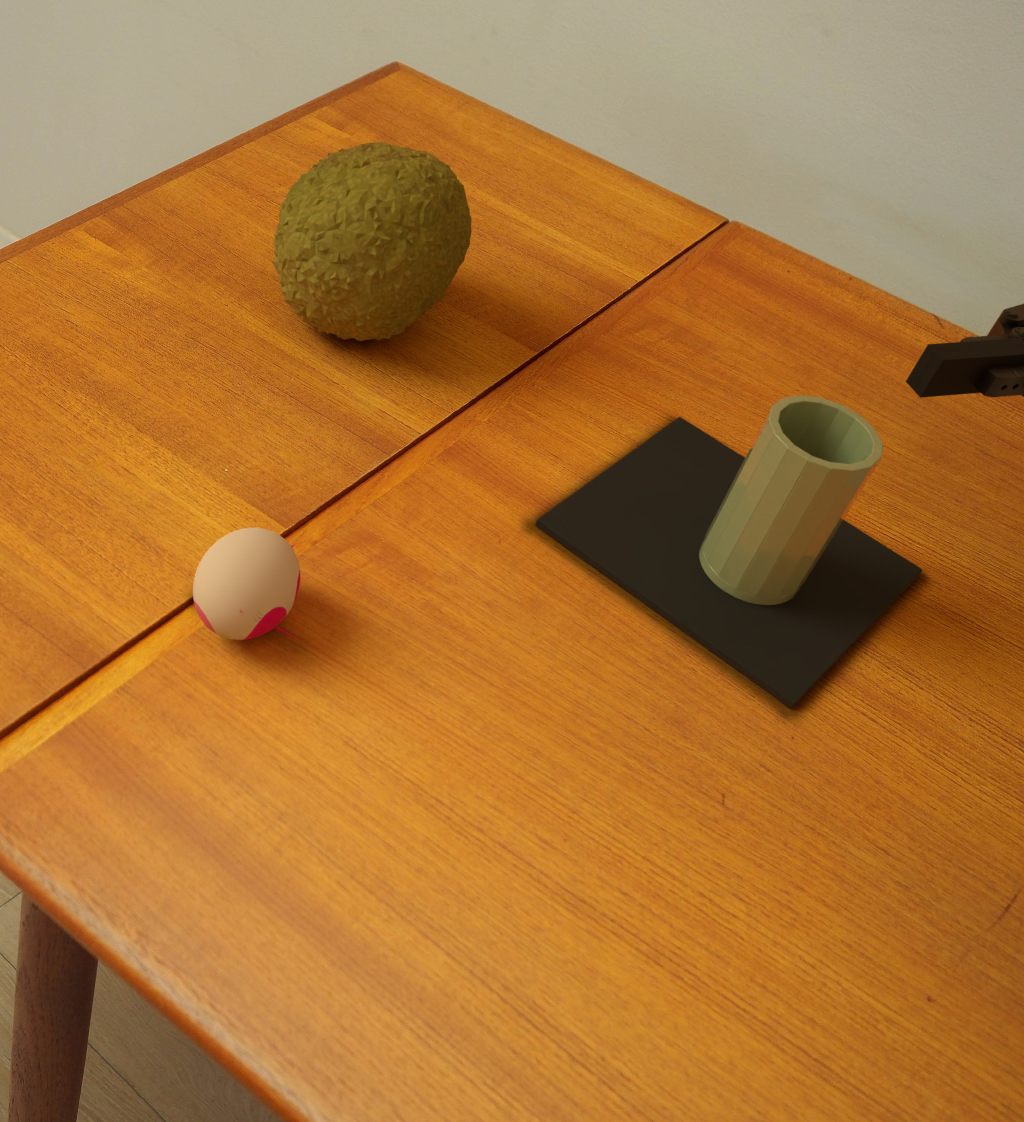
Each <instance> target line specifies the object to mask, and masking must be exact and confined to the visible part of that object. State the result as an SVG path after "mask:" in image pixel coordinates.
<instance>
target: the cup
mask: <svg viewBox="0 0 1024 1122" xmlns="http://www.w3.org/2000/svg"><path fill="white" fill-rule="evenodd" d="M883 450H884V443H883V441H882V439H881V437H880V435H879V433H878V431H877V429H876V428H875V427H874V426H873V425H872V424H871V423H870V422H869V421H868V420H867V419H866V418H865V417H864V416H862V415H861V414H859V413H858V412H856V411H855V410H852V409H851V408H849V407H847V406H846V405H844V404H842V403H838V402H836V401H833V400H830V399H827V398H824V397H820V396H815V395H814V396H813V395H803V394H798V395H793V396H787V397H782V398H781V399H779V400H778V401H777V402H775V403H774V404H772V406H771V407H770V409H769V411H768V413H767V415H766V417H765V419H764V420H763V423H762V425H761V426H760V428H759V430H758V432H757V434H756V436H755V438H754V440H753V442H752V444H751V445H750V448H749V450H748V452H747V453H746V455H745V456H744V457H745V459H744V461H743V463H742V465H741V467H740V469H739V471H738V473H737V475H736V477H735V479H734V481H733V483H732V485H731V486H730V488H729V490H728V492H727V494H726V496H725V498H724V500H723V502H722V504H721V506H720V508H719V510H718V512H717V514H716V516H715V518H714V519H713V521H712V523H711V525H710V527H709V529H708V531H707V533H706V535H705V539H704V541H703V542H702V544H701V547H700V551H699V558H700V563H701V565H702V568H703V570H704V572H705V573H706V575H707V576H708V577H709V578H710V580H711V581H712V582H713V583H714V584H716V585H717V586H718V587H719V588H720V589H722V590H723V591H725V592H726V593H728V594H729V595H731V596H733V597H735V598H738V599H740V600H742V601H746V602H749V603H753V604H758V605H776V604H781V603H784V602H786V601H788V600H790V599H791V598H793V597H794V596H795V595H796V594H797V592H798V591H799V589H800V587H801V586H802V585H803V584H804V582H805V581H806V579H807V578H808V576H809V574H810V573H811V571H812V570H813V568H814V566H815V565H816V563H817V561H818V560H819V558H820V557H821V555H822V553H823V552H824V550H825V549H826V547H827V545H828V544H829V542H830V540H831V539H832V537H833V536H834V534H835V532H836V531H837V529H838V528H839V526H840V524H841V523H842V521H843V520H845V518H846V516H847V515H848V513H849V511H850V510H851V508H852V506H853V505H854V503H855V502H856V500H857V498H858V497H859V495H860V494H861V492H862V490H863V489H864V487H865V485H866V484H867V482H869V479H870V477H871V476H872V475H873V473H874V471H875V469H876V468H877V466H878V464H879V463H880V461H881V460H882V458H883Z"/></svg>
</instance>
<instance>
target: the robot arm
mask: <svg viewBox="0 0 1024 1122" xmlns="http://www.w3.org/2000/svg"><path fill="white" fill-rule="evenodd" d="M905 383H906V384H907V385H908V386H909V387H910V388H911V389H912V390H913V392H914V393H915V394H916V395H917V396H918V397H919V398H921V399H922V398H933V397H946V396H956V395H957V396H958V395H959V396H960V395H969V394H981V395H982V396H984V397H987V398H1001V397H1014V396H1015V397H1017V396H1021V397H1023V398H1024V303H1021V304H1017V305H1014V306H1010V307H1007V308H1005V309H1003V310H1002V311H1001V313H1000V314H999V316H998V317H997V319H996V321H995V322H994V323H993V325H992V326H991V329H990V330H989V332H988V333H987V334H986V335H977V336H966V337H963V338H962V339H960V341H955V342H954V341H953V342H940V343H928V344H927V345H926V346H925V349H923V352H922V353H921V355H920V357H919V359H918V360H917V362H916V364H915V365H914V366H913V368H912V370H911V372H910V374H909V375H908V377H907V379H906V380H905Z"/></svg>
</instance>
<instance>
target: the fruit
mask: <svg viewBox="0 0 1024 1122" xmlns="http://www.w3.org/2000/svg"><path fill="white" fill-rule="evenodd" d="M280 208H281V210H280V211H279V213H278V223H277V225H276V230H275V233H274V234H273V235H274V240H273V246H274V248H275V249H274V250H273V253H274V255H275V258H274V259H273V260H272V261H271V262H272V265H273V266H274V268H275V269H276V272H277V275H276V278H277V279H278V281H279V284H280V291H281V294H282V296H283V301H284V302H285V303H286V304H288V305H289V306H290V308H291V310H292V312H293V314H295V315H297V316H299V317H300V318H301V321H302V322H303V323H308V324H310V326H312V327H313V328H316V329H317V331H318V333H326V334H327V335H329V334H332V335H335V336H336V337H337V338H338V339H342V340H343V341H345V340H350V339H355V340H356V341H358V342H363V341H368V340H374V339H375V340H377V341H382V340H383V339H386V340H390V339H391V338H392V336H397V335H401V334H402V333H403V332H405V330H406V329H407V328H410V327H411V326H412V325H413V324H414V323H415V322H416V321H417V320H418V319H421V317H422V316H424V315H425V313H426V312H428V311H429V310H431V309H433V307H434V306H435V305H436V304H438V303H439V302H441V301H442V300H443V299H444V298H445V297H446V292H447V290H448V288H449V286H451V284H452V281H453V279H454V278H455V276H456V274H457V273H458V271H459V268H460V267H461V266H462V264H463V263H464V261H465V259H466V255H467V253H468V250H469V247H470V245H471V237H472V231H473V230H472V216H471V210H470V207H469V204H468V199H467V194H466V189H465V186H464V184H463V183H462V182H461V180H460V179H458V176H457V174H456V173H455V172H454V170H452V169H451V165H450V164H448V163H446V162H445V161H443V160H440V159H439V158H438V157H437V156H435V154H434V153H433V152H428V151H427V150H415V149H413V148H410V147H406V146H398V145H394V144H391V143H387V142H365V143H361V144H359V145H355V146H351V147H349V148H341V149H339V150H338V151H336V152H328V153H327V156H326V157H325V158H323V159H319V160H318V161H317V163H316V164H315V163H314V164H313V165H312V167H311V168H309V169H308V171H307V173H302V174H301V173H300V177H299V178H298V179H297V180H296V182H294V183H293V184H292V185H291V186H290V187H289V191H287V194H286V195H285V200H283V201H282V202H281V205H280Z"/></svg>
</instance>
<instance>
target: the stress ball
mask: <svg viewBox="0 0 1024 1122" xmlns="http://www.w3.org/2000/svg"><path fill="white" fill-rule="evenodd" d="M294 546H296V543H294V544H292V545H291V544H290V543H289V542H288V541H287V539H285V538H284V537H283V536H281V534H278V532H275V531H273V530H270V529H268V528H263V527H256V526H255V527H253V526H252V527H244V528H240V529H237V530H236V529H235V530H234V531H231V532H229V533H227V534H225V535H224V536H221V538H219V539H218V540H217V541H215V542H214V543H213V544H212V545H211V546H210V547H209V548H208V549H207V551H206V552H205V553H204V554H203V556H202V558H201V560H200V561H199V563H198V566H197V567H196V571H195V574H194V578H193V583H192V599H193V605H194V607H195V611H196V613H197V615H198V617H199V619H200V620H201V622H202V623H203V624H204V625H205V627H207V628H208V630H210V631H211V632H213V633H214V634H216V635H218V636H219V637H222V638H224V639H227V640H233V641H245V640H251V639H255V638H259V637H261V636H263V635H265V634H267V633H269V632H271V631H272V630H273V629H275V630H277V631H279V632H281V633H284V634H285V635H287V636H289V637H292V638H294V639H296V640H297V641H300V642H302V640H301V639H299V638H297V637H296V636H294V635H293V634H291V633H289V632H288V631H286V630H284V629H282V628H280V627H279V624H280V623H281V622H282V621H283V620H284V619H285V618H286V617H287V616H288V614H289V613H290V611H291V610H292V609H293V607H294V605H295V603H296V600H297V597H298V594H299V592H300V591H299V590H300V586H301V568H300V562H299V559H298V556H297V554H296V552H295V550H294V548H293V547H294Z"/></svg>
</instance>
